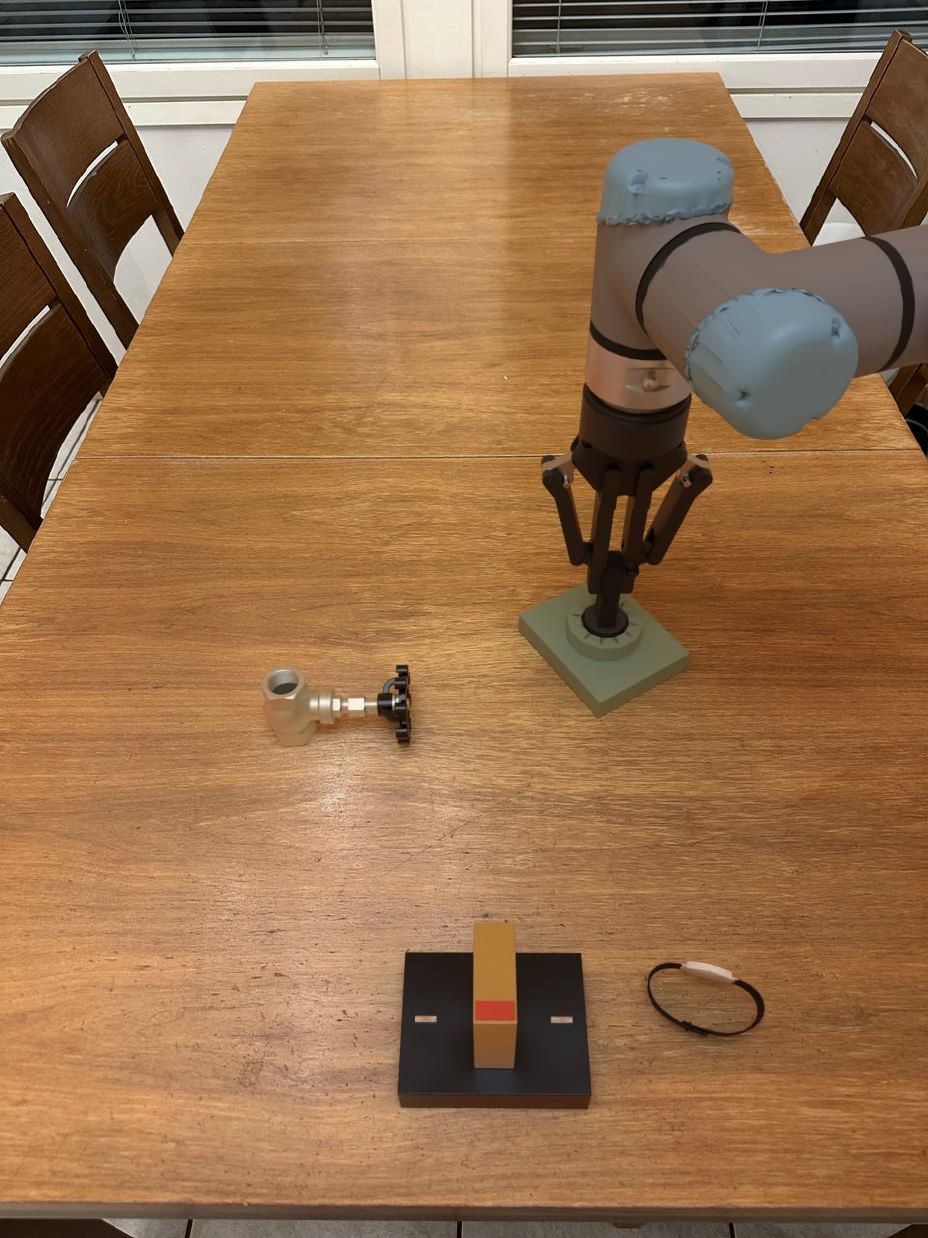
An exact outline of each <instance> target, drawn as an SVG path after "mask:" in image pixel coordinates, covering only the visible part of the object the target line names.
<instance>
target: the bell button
mask: <svg viewBox="0 0 928 1238" xmlns="http://www.w3.org/2000/svg"><path fill="white" fill-rule="evenodd" d="M625 623H626V616H625V614H624V612H623V611H622V609H620V608H619V607H618V612H617V618H616V624H615V626H598V621H597V612H596V604H594V605H592V606H591V607H589V608H588V609H587V611H586V613H585V618H584V628H585V629H586V630H587V631H588V632H589V633H590V634H592V635H595V636H598V637H600V638H615V637H617V636H619V635H621V634H622V633H624V629H625Z"/></svg>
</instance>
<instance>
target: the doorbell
mask: <svg viewBox="0 0 928 1238" xmlns="http://www.w3.org/2000/svg"><path fill="white" fill-rule="evenodd" d="M596 596H597V594H589V592H588V587H587V581H585V582H583V583H581V584H579V585H577V586H575V587H573V588H571V589H569V590H566V591H565V592H562V593H560V594H558V595H557V596H555V597H552V598H550V599H548V600H546V601H543V602H542V603H540V604H538V605H536V606H535V607H532V608H530V609H528V610H526V611H523V612H521V613H519V615H518V631H519V633H520V634H521V635H522V636H523V637H524V638H525V640H526V641H528V643H529V644H530V645H531V646H532V647H533V648H534V649H535V650H536V651H537V652H538V653H539V655H540V656H541V657H542V658H543V659H544V660H545V662H546V663H547V664H548V665H549V666H550V667H551V668H552V670H553V671H555V672H556V673H557V675H558V676H559V677H560V678H561V679H562V680H563V681H564V682H565V684H566V685H567V686H568V687H569V688H570V689H571V690H572V691H573V692H574V693H575V694H576V696H577V697H578V698H579V699H580V700H581V701H582V702H583V703H584V705H585V706H586V707H587V708H588V709H589V710H590V711H591V712H592V713H593V715H594V716H595V717H596V718H598V719H599V718H600V717H602V716H603V715H606V714H608V713H609V712H611V711H613V710H615V709H617V708H618V707H620V706H623V705H624V704H625V703H627V702H630V701H631V700H633V699H635V698H636V697H638V696H640V695H641V694H642V695H643V694H644V693H645V692H647V691H649V690H650V689H652V688H654V687H656V686H658V685H660V684H661V683H663V682H665V681H667V680H668V679H671V678H672V677H674V676H676V675H678V674H680V673H682V672H683V671H685V670H687V669H688V664H689V660H690V656H691V652H690V651H689V650H688V649H687V648H686V647H685V646H684V645H682V644H681V642H679V640H677V638H675V637H674V636H673V635H672V634H671V633H670V632H669V631H668V630H667V629H666V628H665V627H663V625H662V624H660V623H659V622H658V621H657V620H656V619H655V618H654V617H653V616H652V615H651V614H650V613H649V612H648V611H647V610H646V609H645V608H644V607H643V606H642V605H641V604H640V603H639V602H638V601H637V600H635V598H634V597H632V596H631V595H630V594H620V599H619V605H618V607H619V608H620V609H622V611H623V612H624V614H625V616H626V623H625V629H624V633H622V634H621V635H619V636H617V637H615V638H600V637H598V636H595V635H592V634H590V633H589V632H588V631H587V630H586V629H585V628H584V618H585V613H586V611H587V609H588V608H589V607H591V606H592V605H594V604H596Z"/></svg>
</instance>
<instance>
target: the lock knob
mask: <svg viewBox="0 0 928 1238" xmlns="http://www.w3.org/2000/svg"><path fill="white" fill-rule="evenodd" d="M472 947H473V948H472V949H473V951H472V952H473V1038H474V1067H475V1068H514V1062H515V1048H516V1034H517V991H516V953H517V952H516V924H515V922H473V946H472Z"/></svg>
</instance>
